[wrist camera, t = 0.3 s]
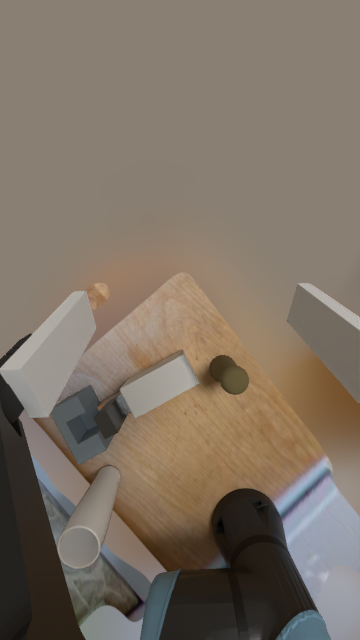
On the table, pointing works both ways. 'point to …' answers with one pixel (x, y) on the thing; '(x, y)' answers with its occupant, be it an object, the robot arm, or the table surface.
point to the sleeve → (159, 383)
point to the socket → (81, 424)
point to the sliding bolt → (111, 414)
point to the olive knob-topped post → (229, 374)
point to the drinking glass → (89, 521)
